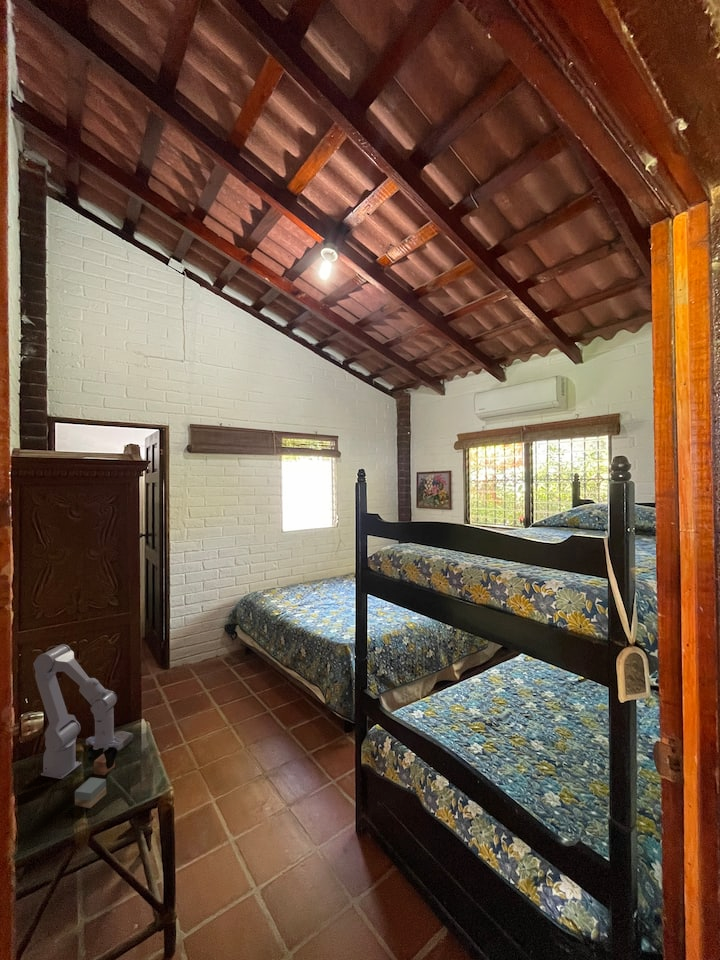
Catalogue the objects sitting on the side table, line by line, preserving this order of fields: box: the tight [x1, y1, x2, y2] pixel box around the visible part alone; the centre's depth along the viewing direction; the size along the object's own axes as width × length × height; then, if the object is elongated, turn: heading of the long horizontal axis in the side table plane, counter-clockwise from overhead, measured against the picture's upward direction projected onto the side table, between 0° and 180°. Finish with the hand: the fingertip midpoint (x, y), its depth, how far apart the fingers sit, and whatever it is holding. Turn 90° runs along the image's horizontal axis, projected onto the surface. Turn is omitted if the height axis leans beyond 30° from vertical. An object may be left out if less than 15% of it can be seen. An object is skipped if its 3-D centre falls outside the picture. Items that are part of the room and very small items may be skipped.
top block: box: [74, 776, 107, 801], centre depth 128 cm, size 6×6×2 cm
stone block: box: [103, 730, 134, 754], centre depth 153 cm, size 12×5×10 cm
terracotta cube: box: [93, 754, 116, 776], centre depth 141 cm, size 4×4×4 cm
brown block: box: [74, 786, 107, 809], centre depth 127 cm, size 6×6×2 cm
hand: (104, 766), depth 141 cm, fingers closed on terracotta cube, 4 cm apart
